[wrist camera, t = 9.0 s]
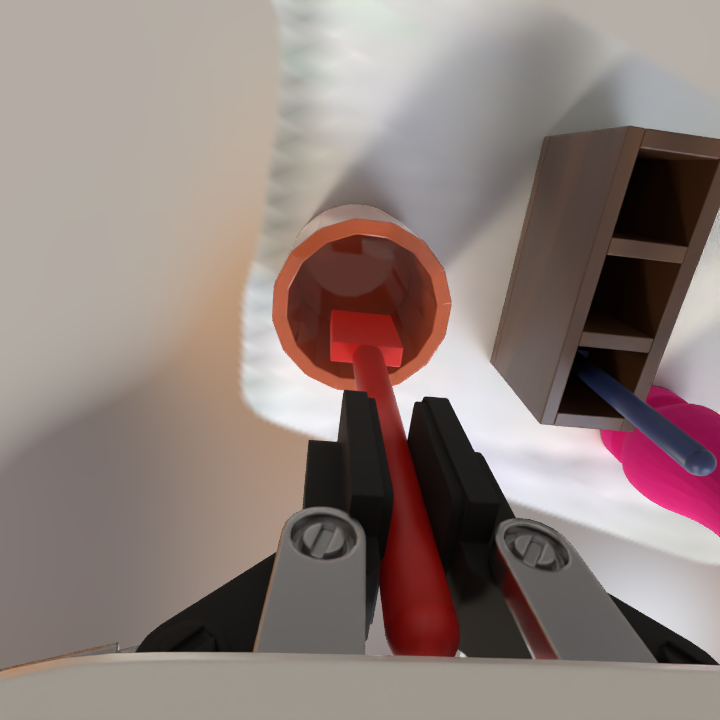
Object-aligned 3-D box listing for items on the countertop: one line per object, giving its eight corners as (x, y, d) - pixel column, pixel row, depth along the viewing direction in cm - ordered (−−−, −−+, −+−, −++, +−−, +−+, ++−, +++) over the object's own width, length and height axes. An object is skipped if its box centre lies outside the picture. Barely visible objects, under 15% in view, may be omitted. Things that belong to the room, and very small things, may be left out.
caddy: (629, 148, 29) (744, 142, 21) (562, 369, 34) (633, 432, 26) (544, 136, 29) (628, 125, 20) (489, 362, 34) (539, 424, 26)
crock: (429, 212, 30) (466, 231, 21) (407, 339, 33) (433, 398, 25) (293, 196, 29) (278, 208, 21) (284, 327, 32) (268, 384, 24)
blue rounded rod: (561, 327, 32) (747, 460, 18) (557, 343, 33) (735, 484, 18) (524, 324, 32) (682, 454, 18) (520, 339, 32) (671, 479, 18)
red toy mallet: (391, 312, 21) (530, 640, 6) (387, 335, 21) (511, 694, 7) (332, 305, 21) (339, 633, 6) (329, 330, 21) (330, 690, 7)
